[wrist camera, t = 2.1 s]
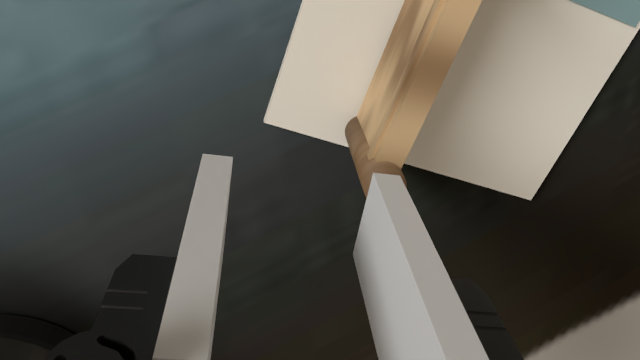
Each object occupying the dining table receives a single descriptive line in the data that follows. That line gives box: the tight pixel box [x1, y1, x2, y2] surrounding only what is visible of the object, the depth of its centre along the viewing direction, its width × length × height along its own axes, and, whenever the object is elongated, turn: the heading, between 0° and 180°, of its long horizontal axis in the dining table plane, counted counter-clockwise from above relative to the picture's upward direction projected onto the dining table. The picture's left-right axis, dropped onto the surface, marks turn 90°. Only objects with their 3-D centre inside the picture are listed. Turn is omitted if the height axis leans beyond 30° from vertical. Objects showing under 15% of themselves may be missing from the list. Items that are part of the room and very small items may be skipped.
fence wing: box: [345, 0, 482, 198], centre depth 26 cm, size 15×2×7 cm, turn 160°
